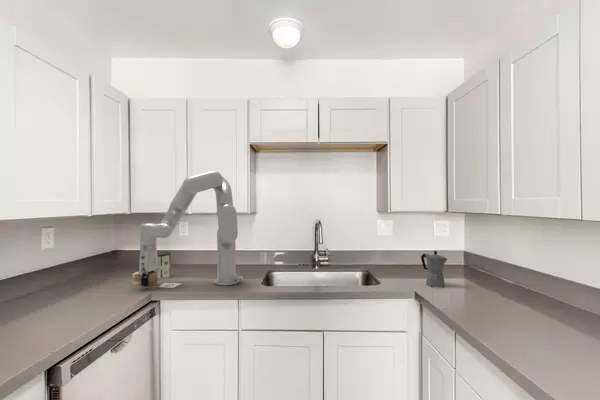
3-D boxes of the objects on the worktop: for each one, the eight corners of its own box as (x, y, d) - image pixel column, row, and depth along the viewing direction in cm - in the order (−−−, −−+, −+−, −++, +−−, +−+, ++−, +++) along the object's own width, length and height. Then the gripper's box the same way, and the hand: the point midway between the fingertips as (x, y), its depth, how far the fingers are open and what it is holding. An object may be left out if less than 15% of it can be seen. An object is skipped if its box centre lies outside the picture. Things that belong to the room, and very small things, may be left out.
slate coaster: (159, 286, 173) (159, 285, 173) (151, 291, 165) (151, 289, 165) (145, 286, 174) (145, 285, 174) (135, 290, 166) (135, 289, 166)
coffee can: (156, 275, 199) (156, 251, 199) (173, 275, 198) (173, 251, 198) (147, 279, 189) (147, 254, 189) (164, 280, 188) (164, 254, 188)
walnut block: (157, 283, 173) (157, 271, 173) (150, 286, 167) (150, 274, 167) (146, 283, 173) (146, 271, 173) (139, 286, 167) (139, 274, 167)
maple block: (148, 282, 182) (148, 271, 182) (144, 285, 176) (144, 274, 176) (136, 283, 181) (136, 271, 181) (132, 285, 175) (132, 274, 175)
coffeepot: (452, 287, 174) (452, 251, 174) (441, 289, 169) (441, 253, 168) (426, 280, 187) (426, 248, 187) (415, 283, 181) (415, 249, 181)
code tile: (181, 284, 179) (181, 283, 179) (173, 288, 170) (173, 287, 170) (165, 283, 180) (165, 282, 180) (156, 288, 171) (156, 287, 171)
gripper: (145, 250, 161) (145, 288, 161) (164, 245, 178) (164, 280, 178) (130, 250, 162) (131, 288, 162) (150, 245, 179) (150, 279, 179)
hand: (148, 283), depth 170 cm, fingers closed on walnut block, 5 cm apart
